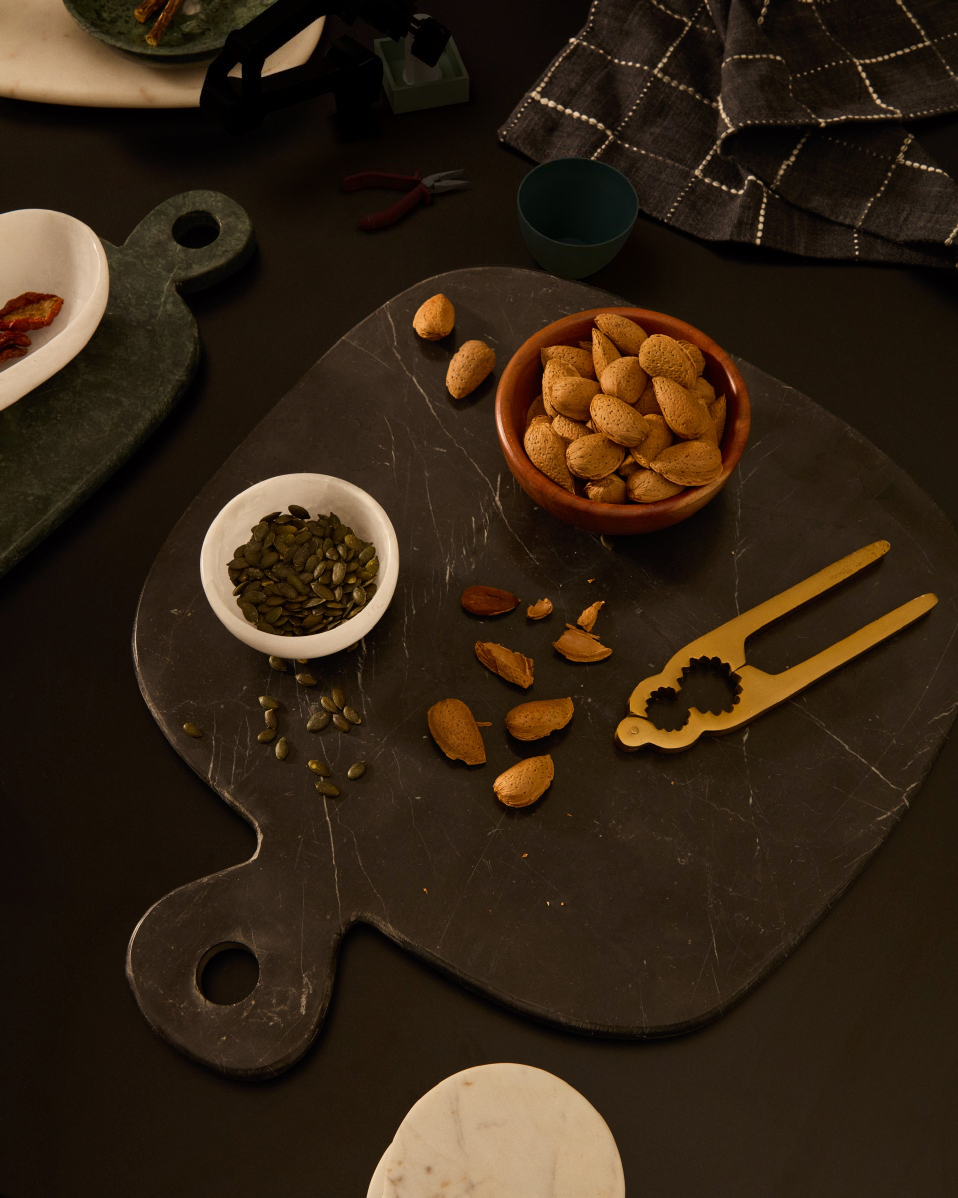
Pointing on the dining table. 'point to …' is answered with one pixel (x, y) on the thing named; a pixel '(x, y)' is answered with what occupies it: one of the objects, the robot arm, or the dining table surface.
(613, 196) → the dark teal bowl
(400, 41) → the bin
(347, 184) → the pliers
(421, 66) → the downlight
